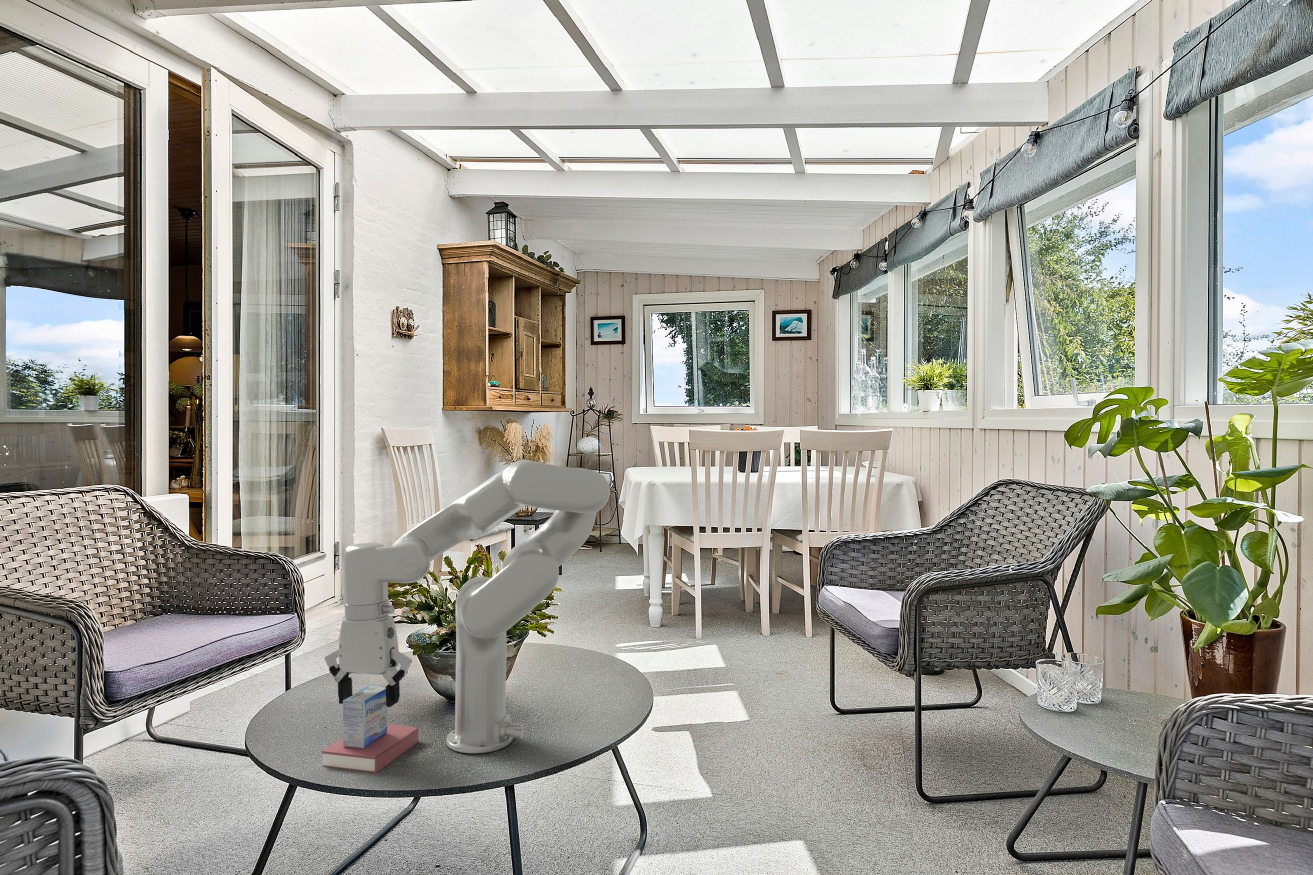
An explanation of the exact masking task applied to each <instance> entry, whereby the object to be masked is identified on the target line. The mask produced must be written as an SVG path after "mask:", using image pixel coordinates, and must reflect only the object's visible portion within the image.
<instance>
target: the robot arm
mask: <svg viewBox="0 0 1313 875" xmlns="http://www.w3.org/2000/svg"><path fill="white" fill-rule="evenodd" d="M610 495H611V488H610V484H609V482H608V480H607V479H606V477H605V476H604V475H603V474H601V473H600V472H598V471H596V470H593V469H588V468H585V467H584V468H583V467H569V466H563V465H562V466H561V465H554V464H549V463H543V462H540V461H539V462H538V461H535V460H530V459H520V460H516V461H514V462H512V463H510V464H509V465H507V466H505V467H504V468H502V469H501V470H500V471H498V472H497V473H495V474H494V475H492V476H491V477H489V478H488V479H487V480H485V481H483V482H482V483H481V484H479V485H477V486H476V487H475V488H473V489H471V490H470V491H469V492H467V493H466V494H464V495H463V496H461V497H460V498H458V499H456V500H454V502H452V503H450V504H449V505H447V506H446V507H444V508H443V509H441V510H440V511H438V512H435V514H434V515H432V516H430V517H428V518H427V519H425V520H424V521H422V522H421V523H419V524H418V525H416V526H415V527H414V528H412V529H410V530H409V531H408V532H406V533H404V534H403V535H402V536H401V537H399V538H398V539H396V540H395V541H394V542H393V543H392V545H387V546H385V545H384V544H382V543H379V542H364V543H363V542H362V543H355V544H352V545H349V546H347V547H346V548H345V549H344V552H343V582H344V583H343V585H344V586H343V587H344V588H343V589H344V618H343V619H341V620H342V621H341V625H340V630H339V638H338V640H339V641H338V649H337V650H335V651H333V652H331V653H330V654H328V655H326V656H325V657H324V661H325V664H326V665H327V667H328V671H329V673H330V674H331V675H332V676H333V677H334V681H335V682H336V683H337V695H338V696H337V697H338V704H339V705H343V700H345V699H347V698H349V697H350V696H352V695H353V679H352V677H351V676H350V675H351V674H355V675H356V674H358V675H359V674H360V675H374V676H375V675H378V676H379V675H382V677H383V678H384V680H385V681H386V682H387V685H385V688H386V706H387V707H388V708H392V707H393V706H394V705H397V703H398V702H399V700H400V698H401V695H400V694H401V693H400V691H401V690H400V682H401V681H402V680H403V678H404V677H405V676H406V675H407V674H408V671H409V670H410V667H411V665H412V663H413V660H412V658H411V657H409V656H407V655H406V654H404V653H402V652H400V651H399V650H400V649H399V639H398V633H397V628H396V623H395V619H394V617H393V616H392V615H390V613H393V612H394V609H395V607H394V605H391V604H390V600H389V583H393V584H394V583H397V584H412V583H416V582H419V581H420V580H422V579H424V577H425V576H426V575H427V574H428V573H429V570H430V568H431V562H432V561H434V560H435V559H437V558H438V557H440V556H441V555H442V554H443V553H445V552H447V551H448V550H449V549H451V548H454V547H455V546H457V545H458V544H461V543H463V542H465V541H468V540H473V539H476V538H480V537H482V536H484V535H486V534H487V533H489V532H490V531H492V530H494V529H495V528H496V527H497V526H499V525H500V524H501V523H503V522H505V521H506V520H507V519H509V518H510V517H511V516H513V515H515V513H518V512H519V511H521V510H522V509H523V508H525V507H526V506H527V507H530V508H531V507H532V508H538V509H544V510H551V511H554V513H553V514H552V515H551V516H550V517H549V518H548V519H547V520H546V521H545V522H544V523H543V524H542V525H541V526H540V527H538V528H537V529H536V530H535V531H533V532H532V533H531V534H530V535H528V536H527V537H526V538H525V539H524V540H522V541H521V542H520V543H518V544H517V545H515V546H514V547H512V548H511V549H510V550H509V551H508V552H507V554H506V555H505V557H504V558H503V561H502V568H501V570H499V572H497V573H496V574H495V575H494V576H493V577H492V576H491V577H488V576H476V577H473V578H471V579H469V580H467V581H466V582H465V583H464V584H463V585H462V586H461V587H460V589H459V591H458V593H457V596H456V599H455V632H456V633H455V635H456V641H455V642H456V645H455V648H456V650H455V654H456V655H455V657H456V658H455V701H454V702H455V704H454V706H455V707H454V708H455V709H454V710H455V711H454V714H455V716H454V729H453V730H451V731H450V732H449V733H448V734H447V736H446V745H447V746H448V748H449V749H451V750H453V751H455V752H458V753H464V754H486V753H491V752H495V751H499V750H500V749H503V748H505V747H507V746H508V745H509V744H511V743H512V741H513V740H514V739H523V738H524V735H525V728H524V723H515V722H512V721H511V714H509V713H506V699H507V698H506V695H507V693H506V692H507V689H506V688H507V651H508V650H507V646H508V645H507V631H509V630H510V629H511V628H512V627H513V626H514V625H516V624H517V623H519V621H521V620H522V619H523V618H524V617H525V616H527V615H528V614H529V613H530V612H531V611H532V610H534V609H535V608H536V607H537V606H538V605H540V603H542V602H543V601H544V600H545V599H546V598H547V597H549V595H550V594H551V593H552V591H553V590H554V589H555V588H556V586H557V584H558V580H559V577H560V576H559V575H560V568H559V567H561V566H562V565H563V564H564V563H565V562H566V561H567V560H568V559H570V558H571V557H572V556H573V555H574V554H575V553H576V552H577V551H578V550H579V549H580V548H581V547H582V546H583V545H584V544H585V543H586V541H588V538H589V537H590V535H591V534H592V532H593V529H594V525H595V522H596V518H597V512H599V511H601V510H602V509H603V508H604V507H605V506H606V505H607V504H608V501H609V499H610ZM337 659H338V660H337ZM399 665H400V666H399ZM398 666H399V669H397V667H398Z"/></svg>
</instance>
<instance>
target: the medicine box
mask: <svg viewBox="0 0 1313 875" xmlns="http://www.w3.org/2000/svg"><path fill="white" fill-rule="evenodd" d="M388 708H389V707H387V706H386V687H382V686H376V685H375V686H372V685H370V686H369V685H368V686H366V687H365V688H363V689H361V690H360V691H358V692H356V693H354V694H352V696H350V697H349V698H347V699H345V700H343V704H342V738H343V746H345V747H352V748H362V749H364V748H366V747H367V746H368V745H370V744H371V743H373V742H374V741H375V740H377V739H378V738H380V737H381V736H383V735H384V734H385V733H387V724H388V717H389V715H388V714H389V713H388Z"/></svg>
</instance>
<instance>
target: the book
mask: <svg viewBox="0 0 1313 875" xmlns="http://www.w3.org/2000/svg"><path fill="white" fill-rule="evenodd" d="M418 742H419V727H418V726H417V727H416V726H408V725H399V724H388V723H387V733H385V734H384V735H383V736H381V737H380V738H378V739H377V740H375V741H374V742H373V743H371V744H370V745H368V746H367V747H366V748H364V749H362V748H352V747H345V746H343V737H342V738H340V739H338V740H337V741H335V742H334V743H332V744H331V745H328V746H327V747H326V748H323V749H322V750H321V754H322V764H321V765H322V766H321V767H325V766H327V767H326V768H333V767H334V769H335V768H336V769H341V768H343V770H350V769H351V771H358V772H359V771H360V772H366V773H367V772H368V773H373V774H374V773H375V774H376V773H379V772H380V771H381V770H383V769H384V768H385V767H386V766H388V765H389V764H391V763H392V762H393V761H394V760H395V759H397V758H398V757H400V756H402V754H404V753H405V752H406V751H408V750H409V749H410V748H412V747H413V746H414V745H416V744H417V743H418Z"/></svg>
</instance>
